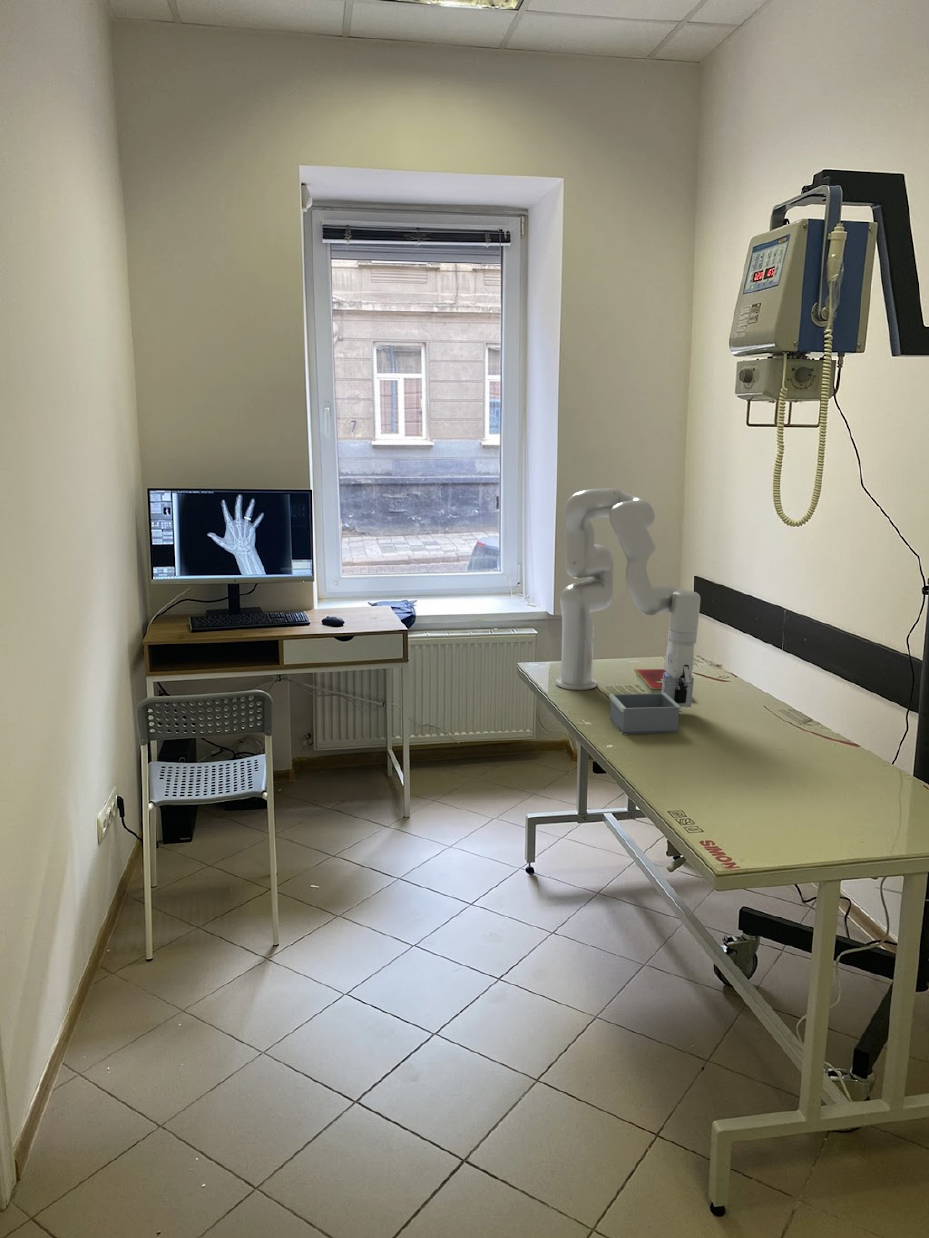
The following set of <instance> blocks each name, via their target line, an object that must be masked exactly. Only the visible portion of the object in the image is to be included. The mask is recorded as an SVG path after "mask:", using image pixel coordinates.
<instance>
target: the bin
mask: <svg viewBox="0 0 929 1238" xmlns="http://www.w3.org/2000/svg"><path fill="white" fill-rule="evenodd" d="M608 698H609V699H610V707H609V708H610V712H609V720H610V721H611V722H612V724H613V725H614V726H615V727H616V728H617V730H618V731H619V732H620V733H621V732H622V733H621V734H622V735H623V734H633V735H660V734H661V735H663V734H664V735H665V734H666V735H667V734H678V732H679V731H678V729H679V718H680V717H679V714H680V712H681V711H682V707H680V706H679V705H678V704H677V703H676V702H675V701H674V700H673V699H672V698H670V697H669V696H668V695H667V694H666V693H648V694H646V693H618V694H617V693H615V694H613V693H609V695H608ZM653 733H654V734H653Z"/></svg>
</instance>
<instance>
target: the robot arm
mask: <svg viewBox="0 0 929 1238" xmlns="http://www.w3.org/2000/svg"><path fill="white" fill-rule="evenodd" d="M655 515H656V513H655V511H654V508H653V507H652V505H651V504H650V502H647V501H646V500H644V499H643V498H640V497H638V496H636V495H633V494H631V493H628V492H626V491H623V490H621V489H618V488H614V487H613V488H611V487H609V488H608V487H607V488H591V489H584V490H580V491H578V492H575V493H574V494H572V495H571V496H570V497H569V498H568V499H567V500H566V502H565V506H564V510H563V519H564V527H565V539H564V540H565V547H564V549H565V551H564V552H565V553H564V554H565V558H564V560H565V561H564V563H565V564H564V566H565V571H566V574H567V575H568V576H570V578H573V579H585V578H586V581H581V582H579V581H578V582H574V583H571V584H569V585H567V586H565V588H563V590H562V591H561V593H560V597H559V605H560V611H561V618H562V619H561V622H562V623H561V624H562V629H561V630H562V631H561V633H562V635H561V663H560V667H561V668H560V676H559V677H557V678H556V679H555V685H556V686H557V685H558V686H557V687H558V688H559V687H560V688H562V689H566V690H573V691H583V690H586V691H587V690H591V689H594V688H596V687H597V686H598V681H597V680H596V679H595V678H594V677H593V668H594V667H593V664H594V662H593V661H594V640H595V626H594V622H593V620H592V617H591V613H594V612H599V611H602V610H606V609H607V608H608V607H609V606H610V604H611V603H612V600H613V594H614V559H613V555H612V553H611V551H610V550H609V549H608V548H607V546H605V545H602V544H595V530H594V527H593V524H592V522H591V521H590V520H593V519H604V518H608V519H609V522H610V525H611V527H612V529H613V531H614V533H615V535H616V538H617V541H618V542H619V544H620V547H621V548H622V551H623V553H624V555H625V557H626V561H627V562H626V566H625V567H626V568H625V580H626V587H627V590H628V592H629V595H630V597H631V599H632V601H633V603H634V605H635V607H636V608H637V610H638V611H639V612H640V613H641V614H643V615H645V616H651V617H652V616H656V615H660V614H665V613H670V615H669V616H670V617H669V627H668V637H667V641H668V642H667V647H666V652H665V658H664V666H663V669H665V671H666V672H667V673H668V674H669V675H670V676H671V677H672V678H674V679H677V689H675V696H674V701H675V702H676V703H686V696H687V689H688V685H689V684H690V678H691V677H692V676H693V670H694V659H695V658H694V657H695V656H694V653H695V652H694V651H695V650H694V649H695V648H694V647H695V646H694V645H696V644H697V638H698V637H697V636H698V629H699V616H700V611H701V610H700V608H701V596H700V594H699V593H698V592H697V591H692V590H684V589H682V588H679V587H677V586H676V585H671V584H664V585H657V586H652V583H651V581H650V579H649V577H648V573H647V564H648V561H649V559H650V557H651V556H653V554H654V553H655V552H656V545H655V543H654V541H653V539H652V537H651V534H650V532H649V530H648V528H651V526H652V525H654V521H655ZM681 676H683V677H684V678H680V677H681ZM680 680H684V681H683V682H681V684H680Z"/></svg>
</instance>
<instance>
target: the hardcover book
mask: <svg viewBox="0 0 929 1238" xmlns="http://www.w3.org/2000/svg"><path fill="white" fill-rule="evenodd" d="M634 672H635V678H634V679H635V682H636V683H637V684H638V686H640V687H641V689H642V690H643V692H644V694H648V693H662V682H663V673H664V672H666V671H665V669H664V668H635V669H634Z"/></svg>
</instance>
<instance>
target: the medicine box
mask: <svg viewBox="0 0 929 1238" xmlns="http://www.w3.org/2000/svg"><path fill="white" fill-rule="evenodd" d="M680 678H684V677H683V676H681V677H680ZM683 681H684V680H680V684H681V682H683ZM694 681H695V678H694V676H693V675H692V677H691V678H690V684H689V685H688V689H687V696H686V703H677V704H678V705H679V706H680V707H681V708H692V701H693V691H694ZM675 689H677V679H674V678H672V677H671V676H670V675H669V674H668V673H667V672H664V673H663V682H662V693H666V694H667V695H668V696H669V697H670V698H672V699H673V700H674V696H675Z"/></svg>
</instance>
